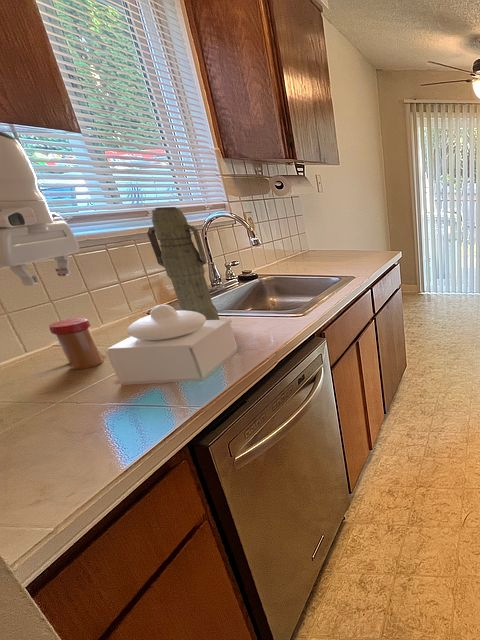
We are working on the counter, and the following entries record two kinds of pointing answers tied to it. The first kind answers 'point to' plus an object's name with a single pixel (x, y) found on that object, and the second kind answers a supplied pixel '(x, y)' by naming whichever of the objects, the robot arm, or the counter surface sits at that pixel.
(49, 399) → the counter surface
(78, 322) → the lid
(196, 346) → the butter dish
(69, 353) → the jar
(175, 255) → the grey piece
